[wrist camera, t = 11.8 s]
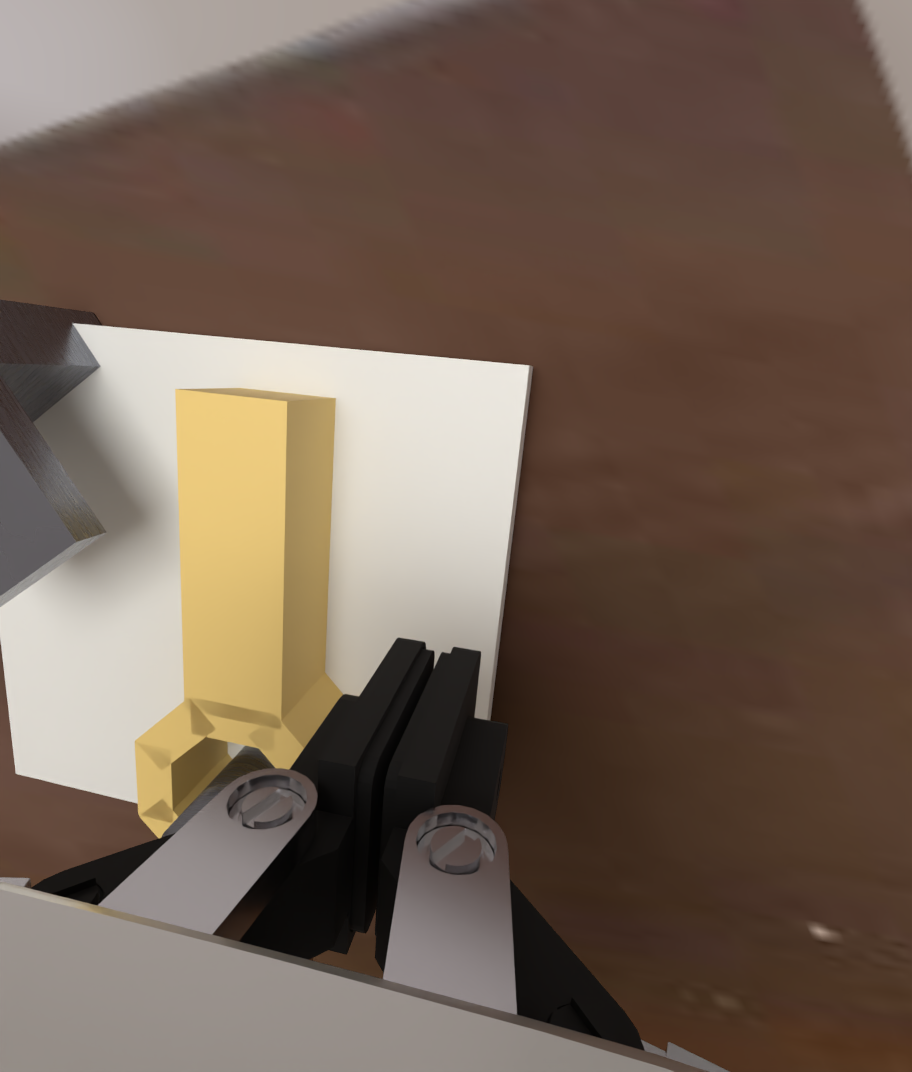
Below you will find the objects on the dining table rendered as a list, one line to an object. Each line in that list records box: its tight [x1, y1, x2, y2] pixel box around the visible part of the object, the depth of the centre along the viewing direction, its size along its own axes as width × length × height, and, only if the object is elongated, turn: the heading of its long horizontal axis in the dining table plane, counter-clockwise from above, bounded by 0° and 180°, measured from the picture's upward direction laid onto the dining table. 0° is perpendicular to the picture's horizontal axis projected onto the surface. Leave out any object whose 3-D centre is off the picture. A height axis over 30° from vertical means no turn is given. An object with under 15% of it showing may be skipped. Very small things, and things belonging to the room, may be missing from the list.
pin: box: [161, 746, 275, 838], centre depth 19 cm, size 2×2×6 cm
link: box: [135, 388, 343, 838], centre depth 18 cm, size 15×6×3 cm, turn 175°
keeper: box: [0, 300, 107, 607], centre depth 18 cm, size 7×5×6 cm
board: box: [0, 323, 533, 803], centre depth 21 cm, size 18×17×1 cm
